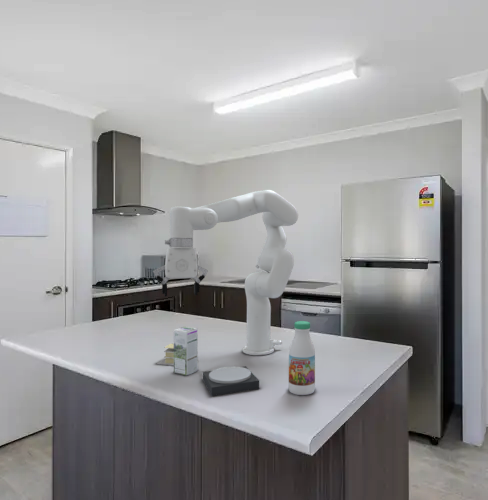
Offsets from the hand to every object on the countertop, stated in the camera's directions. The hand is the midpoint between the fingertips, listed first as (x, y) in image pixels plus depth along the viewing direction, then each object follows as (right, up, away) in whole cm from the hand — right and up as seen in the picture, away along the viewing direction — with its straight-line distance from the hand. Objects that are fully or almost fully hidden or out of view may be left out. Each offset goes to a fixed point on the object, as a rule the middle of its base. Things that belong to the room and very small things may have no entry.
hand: (180, 295), depth 122 cm
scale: (+18, -26, -10) cm, 33 cm away
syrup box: (+2, -26, 0) cm, 26 cm away
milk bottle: (+40, -26, -15) cm, 50 cm away
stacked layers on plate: (-6, -26, +12) cm, 29 cm away
